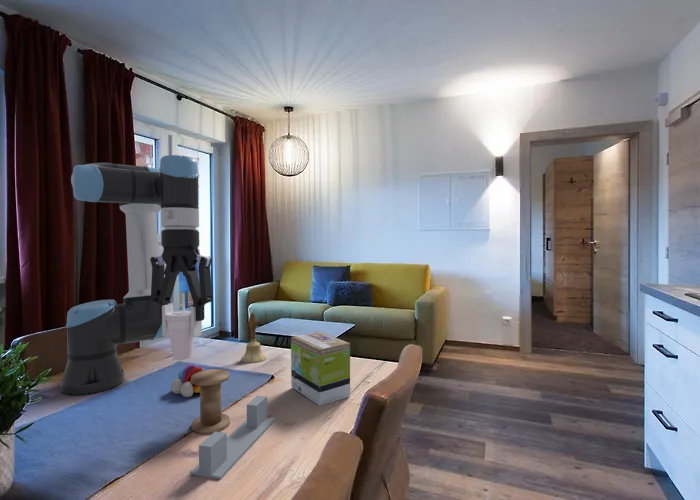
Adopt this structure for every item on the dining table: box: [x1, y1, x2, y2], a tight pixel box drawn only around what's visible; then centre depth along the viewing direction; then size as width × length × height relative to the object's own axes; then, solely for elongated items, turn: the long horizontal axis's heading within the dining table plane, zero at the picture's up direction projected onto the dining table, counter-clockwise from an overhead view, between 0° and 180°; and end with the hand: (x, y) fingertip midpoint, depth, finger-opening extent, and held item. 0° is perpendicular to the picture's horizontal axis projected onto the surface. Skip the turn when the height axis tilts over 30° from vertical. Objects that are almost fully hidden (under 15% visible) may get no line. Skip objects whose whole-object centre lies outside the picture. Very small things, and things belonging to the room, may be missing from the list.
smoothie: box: [165, 292, 195, 361], centre depth 84 cm, size 6×6×14 cm
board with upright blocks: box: [189, 395, 275, 480], centre depth 78 cm, size 6×22×6 cm, turn 166°
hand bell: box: [240, 312, 267, 364], centre depth 133 cm, size 8×8×16 cm
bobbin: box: [191, 368, 231, 435], centre depth 87 cm, size 8×8×11 cm
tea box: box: [290, 331, 351, 407], centre depth 105 cm, size 15×10×15 cm, turn 37°
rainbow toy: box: [170, 364, 204, 398], centre depth 105 cm, size 8×10×7 cm
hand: (182, 334), depth 84 cm, fingers closed on smoothie, 6 cm apart
